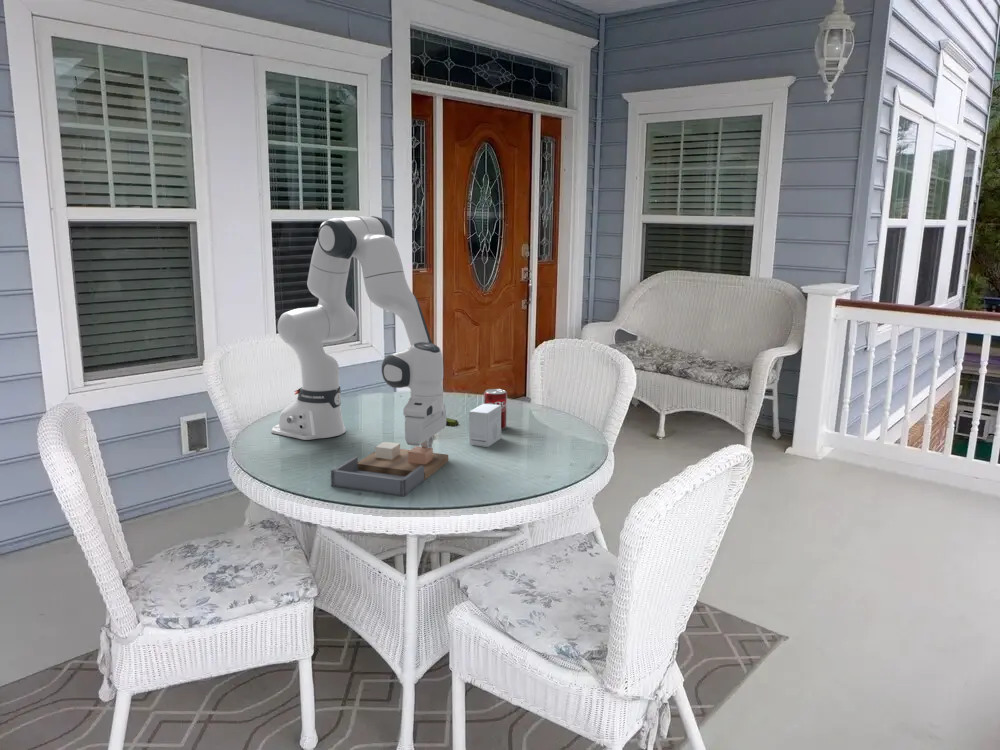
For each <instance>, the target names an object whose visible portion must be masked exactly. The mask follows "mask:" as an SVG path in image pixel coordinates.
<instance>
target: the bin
mask: <svg viewBox="0 0 1000 750" xmlns="http://www.w3.org/2000/svg"><path fill="white" fill-rule="evenodd" d="M358 458H359V457H358V456H353V457H352V458H350V459H348V460H347V461H345V462H343V463H341V464H340V465H338V466H337V467H335V468H333V469H331V470H330V486H331V487H336V488H342V489H350V490H357V491H364V492H369V493H370V492H371V493H378V494H384V495H392V496H397V497H406V496H407V495H408V494H409V493H410V492H411V491H413V490H414V489H415V488H417V487H418V486H419V485H421V483H423V482H424V481H425V480H424V466H421V465H420V466H419V467H418V468H416V469H415V470H413V471H412V472H411V473H409V474H408V475H407V476H399V475H392V474H385V473H377V472H370V471H363V470H358V462H359V459H358Z"/></svg>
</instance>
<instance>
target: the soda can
mask: <svg viewBox="0 0 1000 750" xmlns="http://www.w3.org/2000/svg"><path fill="white" fill-rule="evenodd" d="M507 403H508V393H507V391H506V390H504V389H501V388H489V389H486V390H485V391H484V392H483V404H493V405H501V431H502V430H505V429H506V427H507V413H508V411H507V409H508V408H507V407H508V404H507Z"/></svg>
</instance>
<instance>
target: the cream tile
mask: <svg viewBox="0 0 1000 750" xmlns="http://www.w3.org/2000/svg"><path fill="white" fill-rule="evenodd" d="M400 449H401V443H398V442H397V443H395V442H390V441H389V442H388V441H382V442H381V443H379V444H378V445H376V446H374V450H375V451H374V452H375V457H376V458H384V459H394V458H395V457H397V456H398V455H400Z"/></svg>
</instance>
